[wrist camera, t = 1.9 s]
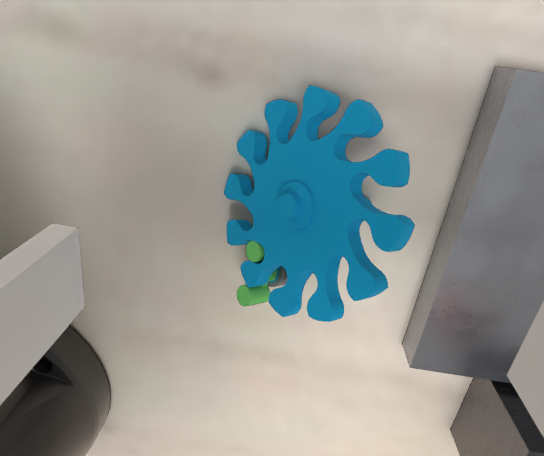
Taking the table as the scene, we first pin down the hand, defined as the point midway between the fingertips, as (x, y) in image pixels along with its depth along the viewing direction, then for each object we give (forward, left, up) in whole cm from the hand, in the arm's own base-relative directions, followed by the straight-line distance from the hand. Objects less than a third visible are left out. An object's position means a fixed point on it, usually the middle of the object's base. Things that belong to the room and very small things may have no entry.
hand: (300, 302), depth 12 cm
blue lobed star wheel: (0, 0, -11) cm, 11 cm away
